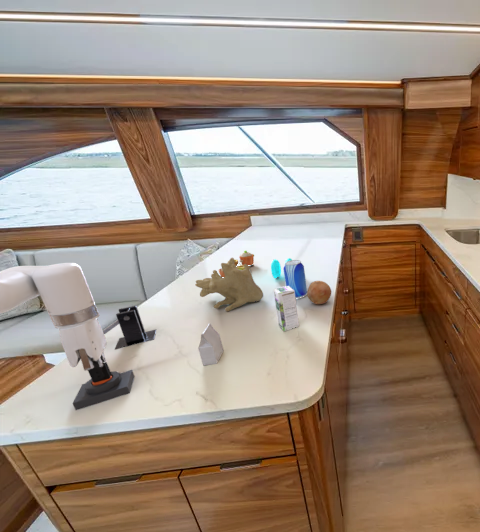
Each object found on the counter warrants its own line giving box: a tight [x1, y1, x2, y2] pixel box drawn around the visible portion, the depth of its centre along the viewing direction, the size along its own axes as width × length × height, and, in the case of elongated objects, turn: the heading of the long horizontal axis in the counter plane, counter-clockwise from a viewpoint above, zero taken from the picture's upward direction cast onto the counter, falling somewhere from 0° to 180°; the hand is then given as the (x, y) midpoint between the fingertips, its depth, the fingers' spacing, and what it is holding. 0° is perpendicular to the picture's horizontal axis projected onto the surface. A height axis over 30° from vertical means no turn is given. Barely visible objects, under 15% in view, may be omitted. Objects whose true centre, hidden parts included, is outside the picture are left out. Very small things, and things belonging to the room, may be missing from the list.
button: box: [92, 376, 112, 385], centre depth 76 cm, size 4×4×2 cm
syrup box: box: [272, 285, 300, 332], centre depth 105 cm, size 6×6×14 cm
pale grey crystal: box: [198, 323, 224, 367], centre depth 89 cm, size 4×7×10 cm, turn 15°
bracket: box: [114, 305, 157, 350], centre depth 98 cm, size 10×8×12 cm
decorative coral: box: [195, 257, 264, 313], centre depth 124 cm, size 26×22×25 cm
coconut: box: [306, 280, 332, 305], centre depth 124 cm, size 10×10×10 cm
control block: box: [72, 369, 135, 411], centre depth 77 cm, size 10×8×4 cm
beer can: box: [283, 259, 308, 298], centre depth 130 cm, size 8×8×16 cm
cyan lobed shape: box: [270, 257, 293, 279], centre depth 155 cm, size 10×10×10 cm
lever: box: [102, 308, 131, 335], centre depth 96 cm, size 12×6×2 cm, turn 125°
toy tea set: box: [217, 250, 255, 277], centre depth 166 cm, size 26×16×10 cm, turn 15°
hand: (102, 378), depth 76 cm, fingers closed
